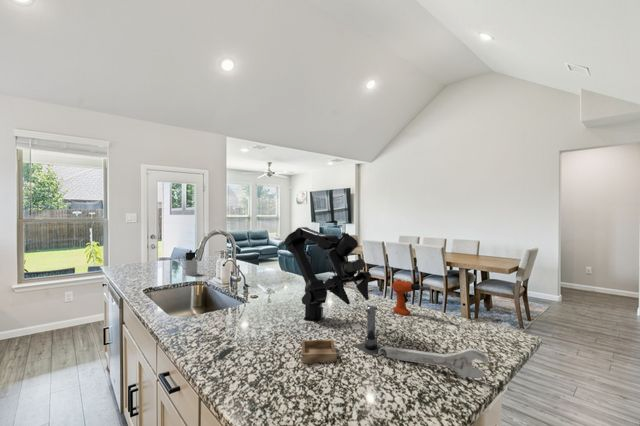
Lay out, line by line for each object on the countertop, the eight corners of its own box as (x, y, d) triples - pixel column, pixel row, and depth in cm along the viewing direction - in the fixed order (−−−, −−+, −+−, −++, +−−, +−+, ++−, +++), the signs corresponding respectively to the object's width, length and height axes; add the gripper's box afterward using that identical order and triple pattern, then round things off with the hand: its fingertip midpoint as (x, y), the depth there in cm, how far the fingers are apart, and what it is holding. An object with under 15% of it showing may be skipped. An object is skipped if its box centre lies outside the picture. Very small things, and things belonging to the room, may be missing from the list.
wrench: (381, 363, 96) (491, 381, 80) (379, 366, 95) (490, 385, 78) (379, 337, 97) (487, 349, 80) (376, 339, 95) (486, 352, 79)
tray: (302, 363, 89) (302, 354, 89) (301, 348, 99) (301, 340, 99) (336, 362, 90) (336, 353, 90) (332, 347, 100) (332, 339, 100)
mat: (353, 347, 101) (353, 345, 101) (371, 341, 105) (371, 340, 105) (370, 356, 94) (370, 355, 94) (388, 350, 99) (388, 349, 99)
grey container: (193, 276, 211) (193, 254, 211) (174, 275, 214) (174, 253, 214) (200, 273, 220) (200, 252, 220) (182, 272, 222) (182, 251, 222)
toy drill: (430, 319, 124) (426, 281, 125) (391, 314, 138) (388, 279, 139) (436, 317, 127) (432, 280, 129) (397, 311, 141) (394, 278, 143)
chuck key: (370, 351, 97) (370, 309, 97) (361, 346, 100) (362, 306, 100) (380, 348, 99) (380, 307, 99) (371, 343, 103) (372, 304, 103)
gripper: (331, 253, 105) (351, 294, 97) (369, 249, 116) (390, 286, 108) (316, 270, 112) (333, 310, 104) (353, 265, 123) (372, 301, 115)
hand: (358, 301), depth 107 cm, fingers open, 9 cm apart
